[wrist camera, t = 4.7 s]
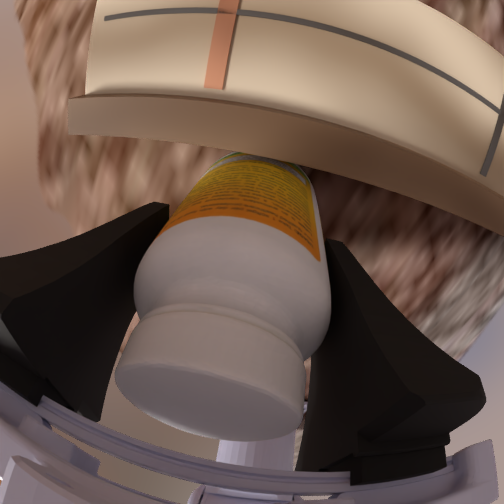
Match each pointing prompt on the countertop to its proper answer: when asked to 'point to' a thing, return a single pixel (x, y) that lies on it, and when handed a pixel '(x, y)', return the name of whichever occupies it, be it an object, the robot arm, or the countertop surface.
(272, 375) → the supplement bottle
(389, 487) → the robot arm
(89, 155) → the countertop surface
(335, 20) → the board
